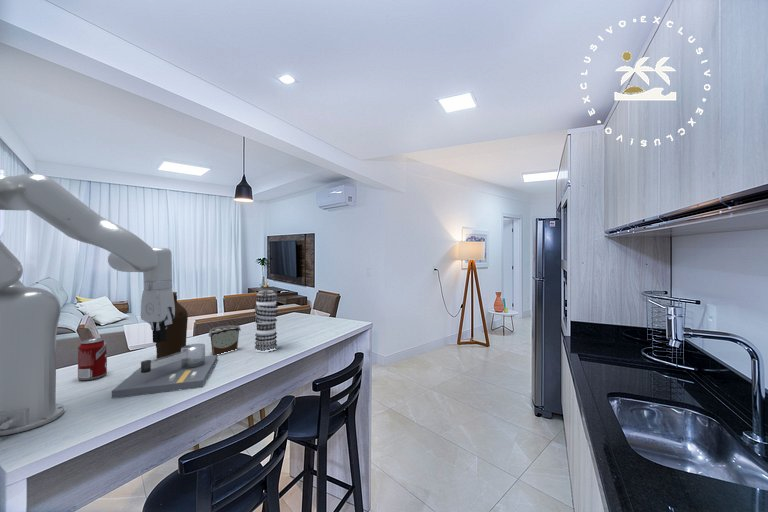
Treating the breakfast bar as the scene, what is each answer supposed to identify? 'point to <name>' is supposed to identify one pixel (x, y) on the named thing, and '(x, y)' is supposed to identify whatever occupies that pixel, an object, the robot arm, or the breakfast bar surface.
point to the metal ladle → (178, 358)
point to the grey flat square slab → (165, 379)
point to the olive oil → (174, 332)
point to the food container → (224, 339)
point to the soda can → (92, 359)
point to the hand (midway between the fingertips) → (159, 341)
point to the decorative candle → (266, 320)
